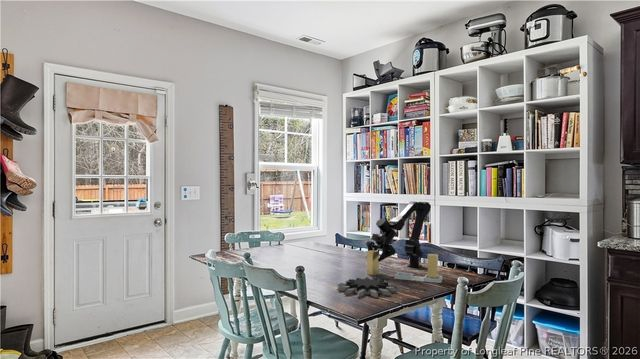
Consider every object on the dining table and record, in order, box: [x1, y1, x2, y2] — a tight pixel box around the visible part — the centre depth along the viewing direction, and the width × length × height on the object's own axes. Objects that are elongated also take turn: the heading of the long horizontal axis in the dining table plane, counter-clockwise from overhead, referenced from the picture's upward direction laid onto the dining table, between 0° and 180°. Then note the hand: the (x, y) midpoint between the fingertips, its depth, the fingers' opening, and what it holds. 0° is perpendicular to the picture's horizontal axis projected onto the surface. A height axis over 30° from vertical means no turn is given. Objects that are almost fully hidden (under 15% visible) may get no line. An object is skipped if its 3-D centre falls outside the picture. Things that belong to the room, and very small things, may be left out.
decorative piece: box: [336, 276, 400, 299], centre depth 181 cm, size 30×4×30 cm
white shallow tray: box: [393, 271, 443, 284], centre depth 199 cm, size 9×23×2 cm, turn 67°
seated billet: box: [427, 253, 439, 279], centre depth 196 cm, size 4×4×12 cm
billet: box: [366, 250, 380, 276], centre depth 212 cm, size 4×4×12 cm
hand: (372, 259), depth 212 cm, fingers open, 9 cm apart
